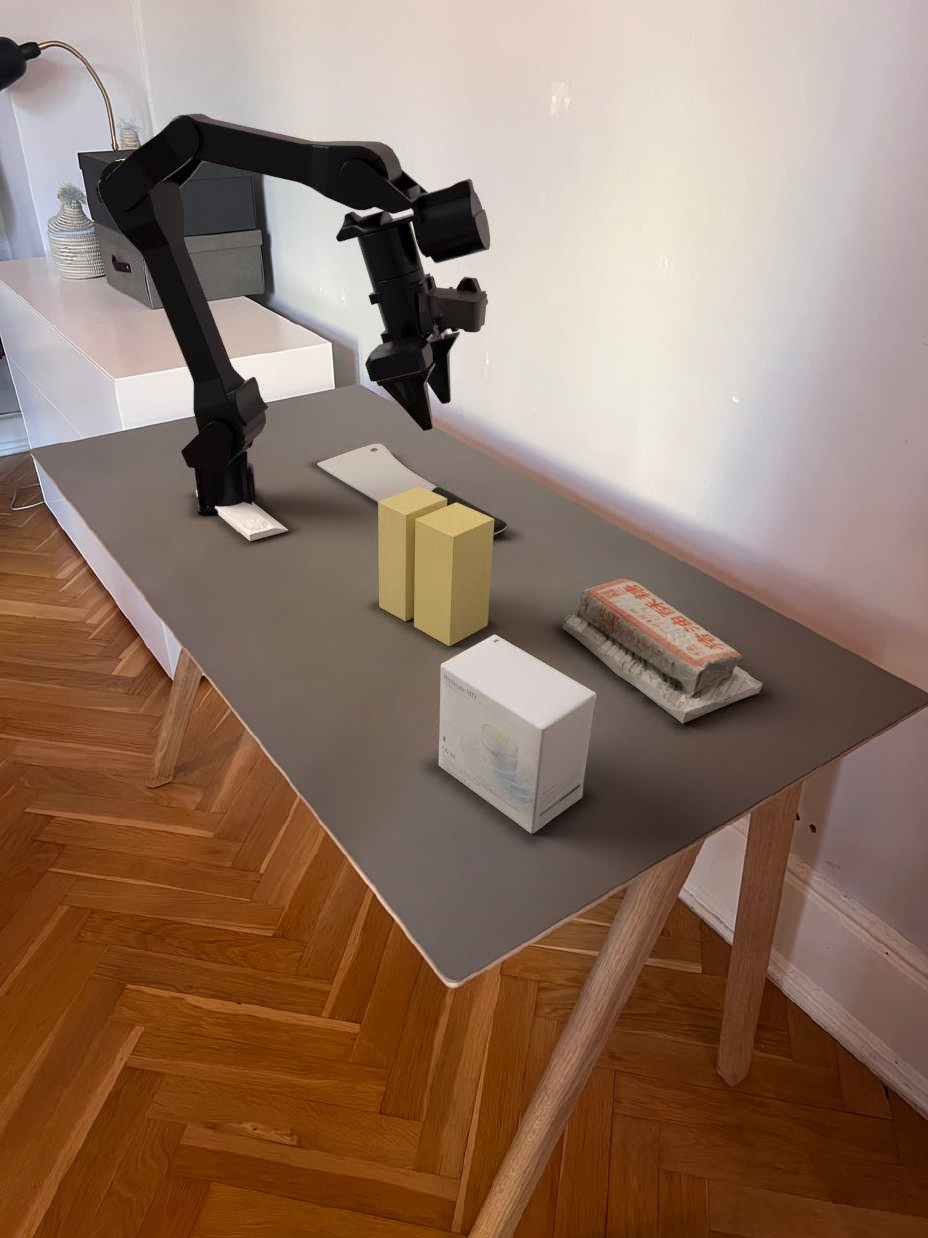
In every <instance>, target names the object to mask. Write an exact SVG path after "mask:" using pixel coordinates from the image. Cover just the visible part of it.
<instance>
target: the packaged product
mask: <svg viewBox="0 0 928 1238" xmlns="http://www.w3.org/2000/svg"><path fill="white" fill-rule="evenodd" d="M579 600H580V603H579V605H578V609H577V612H576V613H574V614H567V615H566V617H565V618H564V621H563V625H562V629H563V630H564V631H566V632H567V633H568V634H569V635H571V636H572V637H573V638H574V639H576V640H577V641H578V642H580V643H581V644H582V645H583V646H585V648H587V649H588V650H589V651H590V652H591V653H592V654H593V655H594V656H595V657H597V658H598V659H599V660H601V662H602V663H604V664H605V665H606V666H607V667H608V668H609V669H610V670H611V671H612V672H613V673H614V674H615V675H617V676H618V677H620V678H622V679H623V680H624V681H626V682H628V683H629V684H631V685H632V686H633V687H635V688H636V689H638V690H639V691H640V692H641V693H643V694H644V695H645V696H647V697H648V698H649V699H650V700H651V701H652V702H654V703H656V704H657V705H658V706H659V707H661V709H663V710H664V711H666V712H667V713H668V714H670V715H671V716H672V717H673V718H675V720H677V721H679V723H681V724H685V723H687V722H690V721H692V720H695V719H696V718H699V717H701V716H704V715H707V714H709V713H711V712H713V711H716V710H718V709H720V708H723V707H726V706H728V705H730V704H734V703H735V702H738V701H741V700H743V699H746V698H748V697H752V696H754V695H757V694H759V693H760V692H761V689H762V687H763V684H764V683H763V682H762V681H759V680H757V679H756V678H754V677H752V676H751V674H749V672H747V671H746V670H744V669H742V668H741V667H738V666H739V664H740V663H741V662H742V661H743V658H744V657H743V655H742V654H740V653H739V652H738V651H737V650H736V649H734V648H732V647H731V646H730V645H728V644H726V643H725V642H724V641H723V640H721V639H720V638H719V637H717V636H715V635H713V634H712V633H711V632H710V631H708V630H706V629H705V628H703V626H701V625H699V624H698V623H696V622H695V621H694V620H692V619H691V618H689V617H687V615H685V614H684V613H681V612H680V611H678V610H677V609H676V608H675V607H673V606H672V605H670V604H668V603H667V602H666V601H664V600H663V599H662V598H659V596H657V595H655V593H652V592H651V591H650V590H648V589H647V588H646V587H644V586H643V585H642V584H640V583H639V582H636V581H634V580H632V579H625V578H618V579H616V580H612V581H610V582H606V583H601V584H597V585H595V586H592V587H590V588H586V589H584V590H582V591H581V595H580V597H579Z"/></svg>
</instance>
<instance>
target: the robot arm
mask: <svg viewBox="0 0 928 1238" xmlns="http://www.w3.org/2000/svg"><path fill="white" fill-rule="evenodd" d="M204 162H207V163H211V164H215V165H219V166H224V167H228V168H233V169H237V170H242V171H245V172H246V171H247V172H250V173H255V174H260V175H263V176H268V177H273V178H277V179H282V180H285V181H286V180H287V181H291V182H294V183H299V184H301V185H304V186H306V187H308V188H311V189H312V190H314V191H315V192H316V193H319V194H320V195H322V196H323V197H325V198H326V199H329V200H331V201H334V202H336V203H338V204H341V205H343V206H345V207H348V208H350V209H352V210H355V211H368V210H371V209H373V208H375V209H378V210H381V211H378V212H374V213H371V214H368V215H367V214H366V215H364V216H362V215H359V214H358V213H356V212H355V211H349V212H347V213H345V214H344V218H343V222H342V224H341V227H340V229H339V230H338V232H337V233H336V236H335V240H336V241H337V242H339V243H342V242H345V241H348V240H353V239H357V243H358V245H359V249H360V252H361V255H362V259H363V262H364V265H365V268H366V271H367V275H368V278H369V281H370V285H371V288H372V292H371V293H369V294H368V296H367V297H368V299H369V302H370V305H371V306H373V305H377V308H378V311H379V314H380V317H381V320H382V324H383V328H384V330H383V332H381V333H380V338H381V341H382V343H380V344H378V345H377V346H376V347H375V348H374V349H373V350H372V351H370V352H369V355H368V357H367V359H366V361H365V363H364V365H365V368H366V372H367V374H368V377H369V380H370V382H372V383H373V382H374V383H376V385H377V386H378V387H382V388H383V390H385V391H386V393H388V394H389V396H391V397H392V398H393V399H394V400H395V402H397V403H398V405H400V407H402V409H403V410H404V411H405V412H406V414H408V415H409V417H410V418H411V419H412V420H413V421H414V422H415V423H416V424H417V426H418V427H419V428H420V429H421V430H422V431H424V432H425V431H426V432H427V431H431V430H433V428H434V423H433V413H432V409H431V408H432V406H431V400H430V399H431V398H430V394H429V387H430V389H431V390H432V393H434V394H435V396H436V398H437V400H438V401H439V402H440V403H441V404H442V405H445V404H446V405H447V404H449V403H450V402H451V401H452V394H451V393H452V392H451V391H452V390H451V389H452V388H451V358H450V357H451V350H452V348H453V346H454V345H455V343H456V342H457V340H458V338H459V337H460V334H461V331H459V330H462V331H464V332H465V333H479V332H480V331H481V329H482V327H483V326H485V324H486V313H487V306H488V304H489V300H488V293H487V291H486V290H482V287H481V286H480V283H479V281H478V278H477V277H470V276H464V277H462V279H461V280H460V281H459V283H458V284H457V286H456V288H454V286H449V287H448V288H445V287H438V286H437V283H436V280H435V277H434V276H433V275H431V273H430V272H429V273H425V270H424V267H423V262H422V259H421V256H420V254H421V255H422V256H424V257H425V258H431V260H432V262H433V263H434V264H440V263H444V262H448V261H451V260H455V259H459V258H463V257H467V256H471V255H475V254H478V253H482V252H486V251H489V250H490V248H491V233H490V225H489V221H488V216H487V212H486V209H485V208H484V209H483V205H482V203H481V200H480V197H479V196H478V193H477V192H476V191H475V188H474V183H473V180H472V179H471V178H467V179H463V180H459V181H457V182H455V183H454V184H452V185H450V186H447V187H444V188H443V187H442V188H440V189H436V190H433V191H430V192H429V191H428V190H426V189H425V188H424V187H423V186H422V185H421V184H420V183H418V182H417V181H416V180H415V179H414V178H413V177H412V176H410V175H409V174H408V173H407V172H406V171H404V169H402V165H401V162H400V159H399V158H398V156H397V155H396V153H395V151H394V149H393V148H392V147H390V146H389V145H388V144H385V143H383V142H381V141H374V140H373V141H372V140H370V141H369V140H331V141H330V140H329V141H328V140H326V141H321V140H320V141H319V140H315V141H314V140H309V139H305V138H300V137H296V136H292V135H287V134H283V133H278V132H273V131H269V130H265V129H260V128H255V127H251V126H247V125H242V124H238V123H234V122H233V123H232V122H230V121H229V122H228V121H224V120H220V119H215V118H212V117H210V116H208V115H206V114H203V113H187V114H179V115H177V116H175V117H172V119H171V120H170V121H169V123H168V124H167V125H166V126H165V127H164V128H162V129H161V130H160V131H159V132H158V133H157V134H156V135H154V136H152V137H151V138H150V139H148V140H147V141H146V142H145V143H143V144H142V145H141V146H139V147H138V148H137V149H135V150H133V151H132V152H131V153H130V154H129V155H127V156H126V158H122V159H117V160H116V159H115V160H113V161H111V162H109V163H107V164H106V165H105V166H104V168H103V169H102V171H101V173H100V177H99V180H98V181H97V188H98V189H97V190H98V195H99V197H100V200H101V202H102V204H103V206H104V207H105V209H106V211H107V213H108V214H109V216H110V218H111V220H112V221H113V223H114V225H115V226H116V228H117V230H118V231H119V232H120V233H121V234H122V236H123V237H125V238H126V239H127V241H128V242H129V243H130V244H131V245H132V246H133V247H134V248H135V249H136V250H137V251H138V252H139V254H140V255H141V256H142V259H143V261H144V265H145V266H146V269H147V272H148V273H149V276H150V278H151V280H152V283H153V285H154V288H155V290H156V293H157V295H158V298H159V300H160V303H161V305H162V308H163V310H164V312H165V315H166V318H167V320H168V322H169V325H170V327H171V330H172V332H173V335H174V337H175V340H176V343H177V344H178V347H179V350H180V352H181V355H182V357H183V359H184V362H185V364H186V367H187V369H188V372H189V374H190V377H191V379H192V383H193V384H192V385H193V399H192V400H193V401H192V403H193V405H192V407H193V408H192V410H193V411H192V412H193V415H194V420H195V424H196V427H197V432H198V434H197V435H195V437H193V438H192V440H190V441H189V443H188V444H186V445H185V446H184V447H183V448H182V450H181V455H182V458H183V460H184V462H185V464H186V466H187V467H188V468H190V469H194V476H195V484H196V485H195V486H196V490H197V494H198V497H197V500H198V502H197V508H196V512H197V514H198V515H218V510H217V509H215V506H219V507H220V506H221V507H223V506H233V505H237V504H240V503H242V502H245V503H248V504H250V505H252V502H253V503H255V502H256V496H257V491H256V480H255V478H256V477H255V467H254V464H253V463H252V462H249V455H248V449H251V448H252V447H253V444H254V441H255V439H256V438H257V437H258V436H259V435H261V433H262V432H263V430H264V428H265V425H267V415H266V411H267V410H268V409H269V406H268V404H267V403H266V402H265V401H264V399H263V397H262V395H261V391H260V387H259V382H258V380H257V378H256V377H255V376H251V377H249V378H247V379H245V378H244V377H243V376H241V374H240V373H239V372H238V371H237V370H236V369H235V367H234V366H233V364H232V362H231V359H230V357H229V354H228V351H227V349H226V347H225V344H224V341H223V339H222V336H221V333H220V331H219V329H218V325H217V322H216V320H215V317H214V315H213V312H212V310H211V307H210V305H209V302H208V300H207V299H208V298H207V297H206V294H205V291H204V289H203V287H202V284H201V281H200V279H199V276H198V273H197V271H196V268H195V266H194V263H193V261H192V258H191V255H190V253H189V249H188V247H187V244H186V241H185V208H184V207H185V206H184V203H183V198H182V193H181V187H182V186H184V185H185V184H186V183H187V182H188V181H189V180H190V179H191V178H192V177H193V176H194V175H195V173H196V172H197V171H198V169H199V168H200V167H201V166H202V164H203V163H204ZM409 210H411V211H412V213H410V214H407V215H403V216H399V217H395V218H393V216H392V215H395V214H398V213H402V212H405V211H409ZM448 330H450V331H451V333H448V332H449V331H448Z"/></svg>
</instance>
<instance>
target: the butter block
mask: <svg viewBox="0 0 928 1238" xmlns="http://www.w3.org/2000/svg"><path fill="white" fill-rule="evenodd" d="M493 533H494V519H493V518H491V517H489V516H487V515H484V514H482V513H480V512H477V511H475V510H473V509H471V508H468V507H466V506H464V505H461V504H459V503H457V502H456V503H454V504H451V505H449V506H446V507H444V508H441V509H439V510H436V511H434V512H432V513H429V514H427V515H424V516H422V517H419V518H417V519H416V524H415V594H414V618H413V627H414V628H416V629H417V630H420V631H421V632H423V633H425V634H426V635H428V636H430V637H431V638H433V639H435V640H437V641H438V642H441V643H443V644H444V645H446V646H448V647H452V646H453V645H455V644H456V643H458V642H460V641H462V640H464V639H466V638H468V637H469V636H471V635H473V634H475V633H477V632H479V631H481V630H482V629H484V628H487V627H488V625H489V624H488V623H489V611H490V609H489V608H490V595H491V593H490V592H491V579H492V565H493V564H492V561H493V547H494V538H493Z"/></svg>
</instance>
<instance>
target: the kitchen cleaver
mask: <svg viewBox="0 0 928 1238" xmlns="http://www.w3.org/2000/svg"><path fill="white" fill-rule="evenodd" d="M317 467H319V468H320V469H321V470H323V471H325V472H327V473H328V474H330V475H331V476H333V477H335V478H336V479H338V480H340V481H341V482H342V483H345V484H346V485H348V486H349V487H351V488H353V489H354V490H356V491H357V492H359V493H362V494H363V495H365V496H366V497H368V498H369V499H371V500H373V501H374V502H376V503H377V504H378V502H379V501H381V500H384V499H387V498H389V497H392V496H395V495H397V494H400V493H403V492H405V491H408V490H410V489H413V488H416V487H418V486H420V487H422V488H424V489H427V490H429V491H431V492H434V493H436V494H438V495H440V496H443V497H445V498H447V506H449V505H451V504H454V503H456V502H457V503H459V504H461V505H464V506H466V507H468V508H471V509H473V510H475V511H477V512H480V513H482V514H484V515H487V516H489V517H491V518H493V519H494V533H493V539H498V538H500V537H501V536H503V535H504V533H505V532H506V530H507V527H508V525H507V522H506V521H504V520H502V519H500V518H498V517H496V516H494V515H492V514H491V513H489V512H487V511H485V510H483V509H481V508H480V507H477V506H476V505H474V504H472V503H471V502H469V501H467V500H465V499H463V498H461V497H459V496H458V495H456V494H454V493H452V492H450V491H448V490H446V489H444V488H442V487H440V486H436V485H435V484H433V483H431V482H429V481H428V480H426V479H425V478H423V477H420V476H419V475H417V474H416V473H414V472H413V471H412V470H410V469H408V467H406V466H405V465H403V464H402V463H401V462H400V461H399V460H398V459H397V458H396V457H394V455H393V454H391V452H390V451H389V449H388V448H387V447H386V446H385V445H384V444H382V443H371V444H369V445H366V446H363V447H359V448H356V449H352V450H350V451H347V452H344V453H342V454H339V455H336V456H334V457H333V456H332V457H330V458H328V459H324V460H322V461H321V460H320V461H319V462H317Z"/></svg>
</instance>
